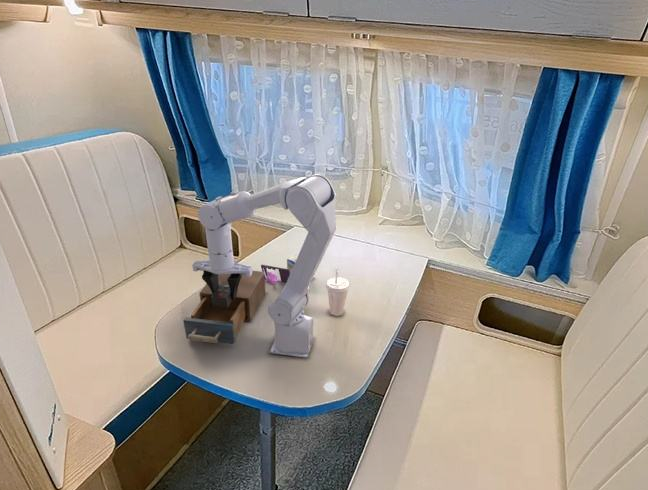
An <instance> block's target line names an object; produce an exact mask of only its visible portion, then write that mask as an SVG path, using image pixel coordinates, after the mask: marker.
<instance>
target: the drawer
mask: <svg viewBox="0 0 648 490" xmlns="http://www.w3.org/2000/svg"><path fill="white" fill-rule="evenodd" d="M246 316H247V305H246V301H244V300H236V299H235V300H232V302H231V303H230V305H229V306H228V308H225V307H216V306H212V301H211V296H205V297H204V298H203V300H202V301H201V300H200V302H199V303H198V305H197V307H195V309H194V310H193V312H192V313H191V314H190V317H187V316H185V317H184V319H183V326H184V332H185V337H186V340H188V341H196V342H204V343H211V344H225V345H233V346H234V345H235V344H236V336H237V334H238V333H239V330H240V328H241V327H242V325H243V324H244V322H245V321H244V319H245V318H246Z"/></svg>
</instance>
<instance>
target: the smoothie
mask: <svg viewBox="0 0 648 490" xmlns="http://www.w3.org/2000/svg"><path fill="white" fill-rule="evenodd" d="M338 276H339V269H338V268H336V269H335V277H331V278H329V279H327V281H326V288H327V296H328V305H329V313H330V314H331V316H336V317H339V316H342V315H343V314H344V310H345V304H346V300H347V295H348V290H349V289H350V287H351V286H350V281H349V280H348V279H346V278H344V277H338Z"/></svg>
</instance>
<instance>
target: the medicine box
mask: <svg viewBox="0 0 648 490" xmlns="http://www.w3.org/2000/svg"><path fill="white" fill-rule="evenodd" d="M298 255H299V253H297V254H294V255H293V256H291V257H288V258H286V269H289V272H290V273H291V271H292V269H293V267H294V264H295V262H296V260H297V257H298ZM314 277H315V276H314ZM314 277H313V279H314Z"/></svg>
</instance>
